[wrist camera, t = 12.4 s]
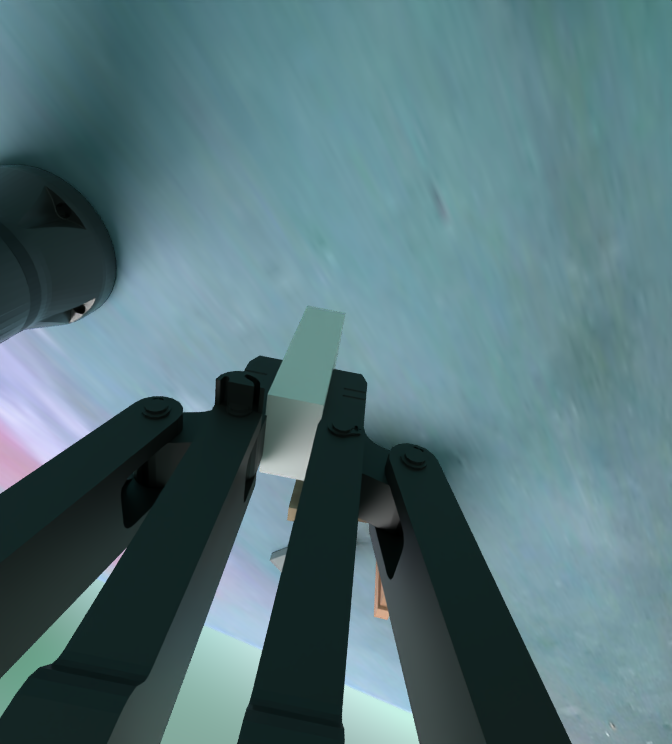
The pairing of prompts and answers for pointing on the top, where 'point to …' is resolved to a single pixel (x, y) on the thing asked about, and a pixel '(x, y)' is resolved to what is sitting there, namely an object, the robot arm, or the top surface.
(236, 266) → the top surface
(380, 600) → the panel
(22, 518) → the robot arm
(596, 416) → the top surface
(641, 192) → the top surface
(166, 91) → the top surface
